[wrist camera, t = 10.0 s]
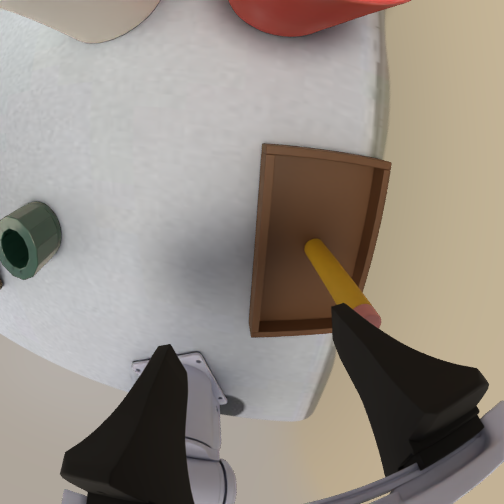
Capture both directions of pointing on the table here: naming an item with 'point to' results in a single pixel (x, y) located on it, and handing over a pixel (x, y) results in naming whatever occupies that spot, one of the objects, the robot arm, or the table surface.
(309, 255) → the pencil
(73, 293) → the table surface
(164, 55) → the table surface
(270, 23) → the flower pot
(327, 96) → the table surface
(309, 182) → the tray
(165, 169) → the table surface
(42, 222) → the pencil pot
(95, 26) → the cup
